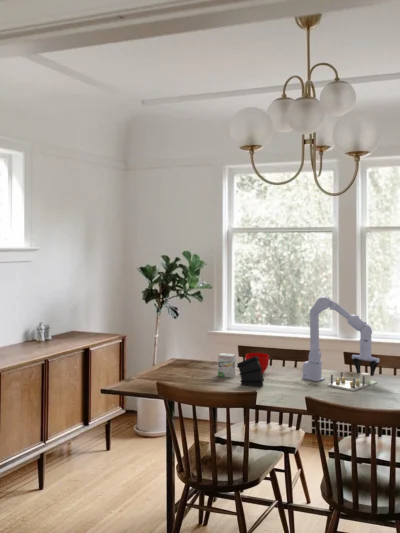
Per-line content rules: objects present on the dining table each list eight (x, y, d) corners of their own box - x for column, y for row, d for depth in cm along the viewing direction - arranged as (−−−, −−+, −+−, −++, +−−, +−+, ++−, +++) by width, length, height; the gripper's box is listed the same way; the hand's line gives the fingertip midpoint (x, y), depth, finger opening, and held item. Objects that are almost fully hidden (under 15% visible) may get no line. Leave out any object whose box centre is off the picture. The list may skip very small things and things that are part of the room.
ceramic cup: (275, 371, 320) (276, 353, 320) (262, 376, 306) (262, 358, 305) (255, 368, 327) (255, 350, 327) (241, 373, 313) (241, 355, 312)
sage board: (352, 382, 295) (352, 373, 295) (359, 380, 300) (359, 371, 300) (371, 386, 288) (371, 376, 288) (377, 383, 294) (377, 374, 293)
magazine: (266, 385, 280) (255, 356, 282) (244, 393, 285) (233, 365, 288) (269, 383, 283) (257, 355, 286) (247, 391, 289) (236, 364, 291)
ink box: (217, 376, 305) (217, 354, 305) (220, 374, 310) (220, 352, 310) (232, 377, 302) (232, 355, 302) (235, 375, 307) (235, 354, 307)
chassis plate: (327, 386, 286) (328, 375, 285) (342, 381, 296) (342, 371, 295) (353, 391, 276) (353, 379, 276) (367, 386, 286) (367, 375, 286)
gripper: (382, 349, 292) (382, 375, 292) (356, 345, 302) (356, 371, 302) (375, 350, 287) (375, 377, 287) (349, 347, 297) (349, 373, 297)
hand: (365, 374), depth 294 cm, fingers open, 7 cm apart
